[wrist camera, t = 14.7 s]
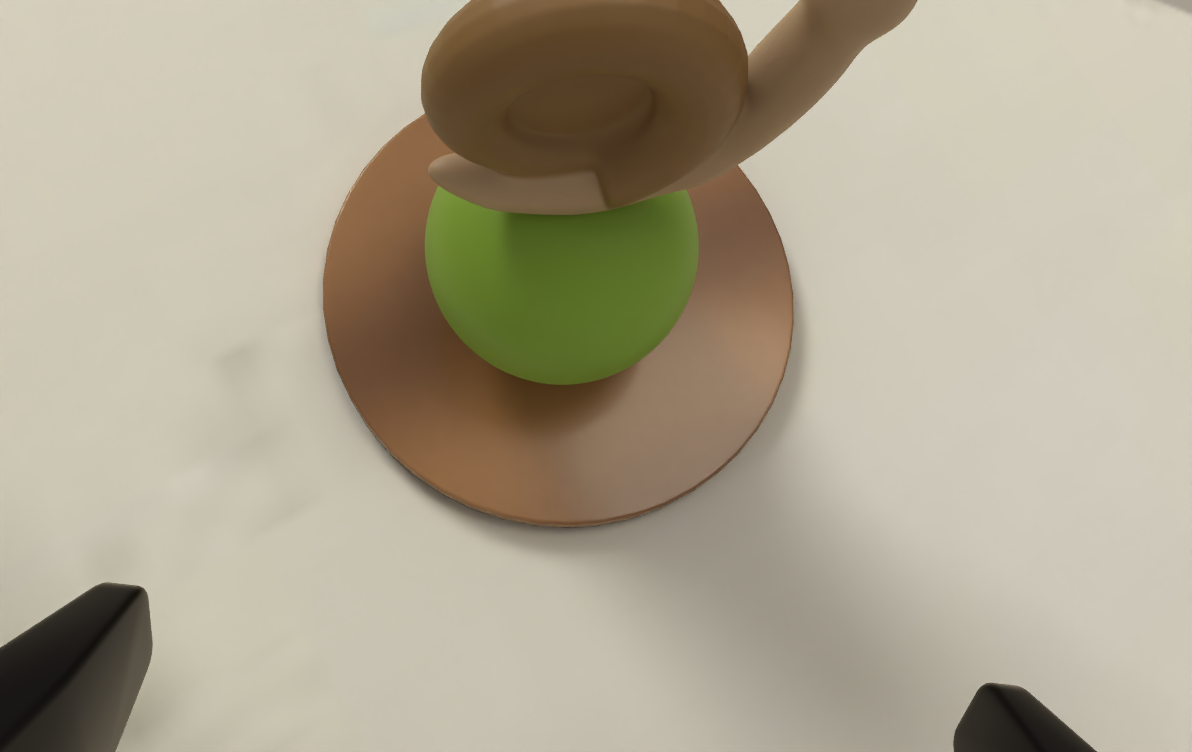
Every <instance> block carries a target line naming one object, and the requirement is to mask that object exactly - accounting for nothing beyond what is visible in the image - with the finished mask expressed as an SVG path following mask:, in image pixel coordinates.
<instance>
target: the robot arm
mask: <svg viewBox="0 0 1192 752" xmlns="http://www.w3.org/2000/svg"><path fill="white" fill-rule="evenodd" d="M152 646H153V645H152V632H151V621H150V611H149V600H148V595H147V592H146V591H145V589H144V588H142V587H140V586H135V585H126V584H117V583H102V584H99V585H96V586H95V587H93V588H91V589H90V590H88V591H87V592H85V593H84V594H82V595H81V596H79V597H77V598H76V599H74V600H73V601H71V602H70V603H68V604H67V605H65V606H64V607H62V608H61V609H59V610H57V611H56V612H54V613H53V614H51V615H50V616H48V617H47V618H45V619H44V620H42V621H41V622H39V623H37V624H36V625H34V626H33V627H31V628H30V629H28V630H27V631H25V632H24V633H22V634H21V635H19V636H18V637H16V638H14V639H13V640H11V641H10V642H8V643H7V644H5V645H4V646H2V647H1V648H0V752H115V751H116V749H117V746H118V744H119V741H120V739H121V736H122V734H123V731H124V728H125V726H126V723H127V721H128V718H129V716H130V713H131V710H132V708H133V705H134V703H135V700H136V698H137V695H138V693H139V690H140V687H141V685H142V682H143V680H144V677H145V675H146V672H147V669H148V667H149V663H150V660H151V655H152ZM953 745H954V752H1097V751H1096V750H1094V749H1093V748H1092V747H1091V746H1090V745H1089V744H1088V743H1086V742H1085V741H1084V740H1083V739H1082V738H1081V737H1080V736H1078V735H1077V734H1076V733H1075V732H1074V731H1073V730H1072V729H1070V728H1069V727H1068V726H1067V725H1066V724H1065V723H1064V722H1062V721H1061V720H1060V719H1059V718H1058V717H1057V716H1056V715H1054V714H1053V713H1052V712H1051V711H1050V710H1049V709H1048V708H1046V707H1045V706H1044V705H1043V704H1042V703H1041V702H1040V701H1038V700H1037V699H1036V698H1035V697H1034V696H1033V695H1032V694H1030V693H1029V692H1028V691H1027V690H1025V689H1023V688H1022V687H1019V686H1014V685H1005V684H997V683H986V684H984V685H983V686H981V687H980V688H979V689H978V691H977V692H976V694H975V696H974V698H973V700H972V701H971V703H970V705H969V707H968V708H967V710H966V712H965V714H964V715H963V717H962V719H961V721H960V722H959V724H958V726H957V728H956V730H955V735H954V742H953Z"/></svg>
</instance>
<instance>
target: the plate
mask: <svg viewBox="0 0 1192 752" xmlns="http://www.w3.org/2000/svg"><path fill="white" fill-rule="evenodd" d="M453 153H455V152H453V151H452V150H451V149H449V148H448V147H447V146H446V145H445V144H444V143H443V142H442V141H441V139H440V138H439V137H438V136H437V135H436V134H435V132H434V131H433V129H432V128H431V126H430V124H429V121H428V119H427V116H426V113H425V114H424V115H422V116H421V117H419V118H418V119H416V120H415V121H413V122H412V123H410V124H409V125H407V126H406V127H405V128H403V129H402V130H401V131H400V132H399V133H398V134H397V135H395V136H394V137H393V138H392V139H391V140H390V141H389V142H388V143H387V144H385V145H384V146H383V147H382V148H381V149H380V151H379V152H378V153H377V154H376V155H375V157H374V158H373V159H372V160H371V161H370V162H369V164H368V165H367V166H366V167H365V168H364V169H363V171H362V172H361V174H360V176H359V177H358V179H357V180H356V182H355V184H354V185H353V187H352V188H351V190H350V191H349V193H348V195H347V197H346V199H345V201H344V203H343V206H342V208H341V210H340V212H339V215H338V217H337V219H336V221H335V225H334V228H333V232H332V235H331V238H330V242H329V245H328V249H327V255H326V263H325V270H324V277H323V310H324V317H325V323H326V330H327V336H328V342H329V345H330V348H331V351H332V355H333V358H334V361H335V365H336V368H337V371H338V373H339V375H340V377H341V379H342V382H343V384H344V386H345V388H346V390H347V392H348V395H349V397H350V399H351V401H352V403H353V404H354V406H355V407H356V409H357V410H358V412H359V414H360V415H361V417H362V418H363V420H364V421H365V423H366V424H367V426H368V427H369V429H370V431H371V432H372V433H373V434H374V435H375V436H376V437H377V439H378V440H379V441H380V442H381V443H382V444H383V446H384V447H385V448H386V449H387V450H388V451H389V453H390V454H391V455H392V456H393V457H395V458H396V459H397V460H398V461H399V462H400V463H401V464H402V465H404V466H405V467H406V468H407V469H408V470H409V471H410V472H412V473H413V474H414V475H415V476H416V477H418V478H419V479H421V480H422V481H424V482H425V483H427V484H428V485H430V486H431V487H433V488H434V489H436V490H437V491H439V492H440V493H442V494H443V495H445V496H447V497H449V498H451V499H453V500H455V501H457V502H459V503H462V504H464V505H466V506H468V507H470V508H472V509H474V510H477V511H480V512H483V513H486V514H489V515H492V516H495V517H498V518H501V519H505V520H510V521H515V522H520V523H525V524H530V525H536V526H552V527H581V526H594V525H603V524H607V523H612V522H617V521H622V520H626V519H631V518H634V517H637V516H639V515H642V514H645V513H648V512H651V511H653V510H656V509H659V508H661V507H663V506H665V505H667V504H669V503H671V502H673V501H675V500H677V499H679V498H680V497H682V496H684V495H686V494H688V493H690V492H692V491H693V490H695V489H696V488H698V487H699V486H700V485H702V484H703V483H705V482H706V481H707V480H709V479H710V478H712V477H713V476H714V475H716V474H717V473H718V472H719V471H720V470H721V469H723V468H724V467H725V466H726V465H727V464H728V463H729V462H730V461H731V460H732V459H733V458H734V457H735V456H736V455H737V454H738V453H739V452H740V451H741V450H742V449H743V447H744V446H745V445H746V443H747V442H748V441H749V440H750V438H751V437H752V436H753V435H754V433H755V432H756V431H757V430H758V428H759V426H760V425H761V423H762V421H763V419H764V418H765V416H766V414H767V413H768V411H769V409H770V408H771V406H772V404H773V401H774V399H775V397H776V394H777V392H778V389H779V387H780V384H781V382H782V380H783V377H784V373H785V369H786V365H787V361H788V357H789V353H790V348H791V340H792V331H793V323H794V322H793V291H792V284H791V278H790V271H789V265H788V262H787V258H786V255H785V251H784V248H783V244H782V241H781V238H780V236H779V233H778V231H777V229H776V226H775V224H774V222H773V219H772V217H771V215H770V213H769V211H768V209H767V207H766V206H765V204H764V202H763V201H762V199H761V197H760V195H759V194H758V192H757V190H756V189H755V187H754V186H753V185H752V183H751V182H750V181H749V179H748V178H747V177H746V175H745V174H744V173H743V172H742V170H741V169H740V168H739V166H738V165H737V166H735V167H734V168H732V169H731V170H729V171H728V172H726V173H725V174H723V175H721V176H719V177H717V178H715V179H713V180H711V181H709V182H706V183H704V184H702V185H699V186H696V187H693V188H690V189H686V190H687V192H688V194H689V197H690V200H691V202H692V206H693V209H694V213H695V217H696V222H697V228H698V237H699V256H698V266H697V272H696V277H695V282H694V285H693V289H692V292H691V294H690V297H689V300H688V302H687V304H686V306H685V309H684V311H683V312H682V314H681V316H680V318H679V319H678V321H677V323H676V324H675V326H674V327H673V329H672V330H671V331H670V332H669V334H668V335H667V336H666V337H665V338H664V340H663V341H662V342H661V343H660V344H659V345H658V346H657V347H656V348H655V349H654V350H653V351H651V352H650V353H649V354H648V355H647V356H645V357H644V358H643V359H641V360H640V361H638V362H637V363H635V364H634V365H632V366H630V367H629V368H627V369H625V370H623V371H621V372H619V373H616V374H614V375H612V376H609V377H606V378H603V379H600V380H596V381H592V382H587V383H581V384H570V385H555V384H545V383H538V382H533V381H529V380H526V379H522V378H519V377H516V376H514V375H511V374H509V373H506V372H504V371H502V370H500V369H498V368H496V367H495V366H493V365H491V364H490V363H488V362H487V361H485V360H484V359H482V358H481V357H480V356H478V355H477V354H476V353H475V352H473V351H472V350H471V349H470V348H469V347H468V346H467V345H466V344H465V343H464V342H463V341H462V340H461V339H460V338H459V337H458V335H457V334H456V333H455V332H454V330H453V329H452V328H451V326H450V325H449V323H448V322H447V320H446V319H445V317H444V315H443V314H442V312H441V310H440V308H439V306H438V304H437V302H436V299H435V297H434V294H433V291H432V288H431V285H430V281H429V278H428V273H427V267H426V260H425V231H426V224H427V218H428V214H429V210H430V206H431V203H432V200H433V197H434V194H435V192H436V190H437V187H438V185H437V184H436V183H435V182H434V181H433V180H432V179H431V178H430V176H429V173H428V168H429V165H430V164H431V163H432V162H433V161H434V160H436V159H437V158H439V157H442V156H445V155H448V154H453Z"/></svg>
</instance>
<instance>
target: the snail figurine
mask: <svg viewBox="0 0 1192 752" xmlns="http://www.w3.org/2000/svg"><path fill="white" fill-rule="evenodd" d="M916 2H917V0H800V1H799V2H798V3H797V4H796V5H795V6H794V7H793V8H792V9H791V10H790V12H789V13H788V14H787V15H786V16H785V17H784V18H783V19H782V20H781V21H780V22H779V23H778V24H777V25H776V26H775V27H774V28H773V29H772V30H771V31H770V32H769V33H768V34H767V35H766V37H765V38H764V39H763V40H762V41H761V42H760V43H759V44H758V45H757V46H756V47H755V49H754V50H753V51H752V52H751V53H750V54H749V56H748V55H747V50H746V47H745V44H744V41H743V38H742V35H741V32H740V30H739V28H738V27H737V25H736V23H735V21H734V19H733V18H732V16H731V15H730V14H729V13H728V11H727V10H726V9H725V7H724V6H723V5H722V3H721V2H720V1H719V0H471V1H470V2H468V3H467V4H466V5H465V6H464V7H463V8H462V9H461V10H460V11H458V12H457V13H456V14H455V15H454V16H453V17H452V18H451V19H450V20H449V21H448V22H447V24H446V25H445V26H444V28H443V29H442V30H441V32H440V33H439V35H438V36H437V38H436V39H435V40H434V42H433V44H432V45H431V47H430V49H429V52H428V55H427V57H426V60H425V63H424V66H423V70H422V78H421V100H422V104H423V108H424V111H425V113H426V116H427V119H428V121H429V124H430V126H431V128H432V129H433V131H434V132H435V134H436V135H437V136H438V137H439V138H440V139H441V141H442V142H443V143H444V144H445V145H446V146H447V147H448V148H449V149H451V150H452V151H453V152H455V153H453V154H448V155H445V156H442V157H439V158H437V159H436V160H434V161H433V162H432V163H431V164H430V165H429V168H428V173H429V176H430V178H431V179H432V180H433V181H434V182H435V183H436V184H437V185H438V187H437V190H436V192H435V194H434V197H433V200H432V203H431V206H430V210H429V214H428V218H427V224H426V231H425V260H426V267H427V273H428V278H429V281H430V285H431V288H432V291H433V294H434V297H435V299H436V302H437V304H438V306H439V308H440V310H441V312H442V314H443V315H444V317H445V319H446V320H447V322H448V323H449V325H450V326H451V328H452V329H453V330H454V332H455V333H456V334H457V335H458V337H459V338H460V339H461V340H462V341H463V342H464V343H465V344H466V345H467V346H468V347H469V348H470V349H471V350H472V351H473V352H475V353H476V354H477V355H478V356H480V357H481V358H482V359H484V360H485V361H487V362H488V363H490V364H491V365H493V366H495V367H496V368H498V369H500V370H502V371H504V372H506V373H509V374H511V375H514V376H516V377H519V378H522V379H526V380H529V381H533V382H538V383H545V384H555V385H570V384H581V383H587V382H592V381H596V380H600V379H603V378H606V377H609V376H612V375H614V374H616V373H619V372H621V371H623V370H625V369H627V368H629V367H630V366H632V365H634V364H635V363H637V362H638V361H640V360H641V359H643V358H644V357H645V356H647V355H648V354H649V353H650V352H651V351H653V350H654V349H655V348H656V347H657V346H658V345H659V344H660V343H661V342H662V341H663V340H664V338H665V337H666V336H667V335H668V334H669V332H670V331H671V330H672V329H673V327H674V326H675V324H676V323H677V321H678V319H679V318H680V316H681V314H682V312H683V311H684V309H685V306H686V304H687V302H688V300H689V297H690V294H691V292H692V289H693V285H694V282H695V277H696V272H697V266H698V256H699V237H698V228H697V222H696V217H695V213H694V209H693V206H692V202H691V200H690V197H689V194H688V192H687V190H686V189H690V188H693V187H696V186H699V185H702V184H704V183H706V182H709V181H711V180H713V179H715V178H717V177H719V176H721V175H723V174H725V173H726V172H728V171H729V170H731V169H732V168H734V167H735V166H737V165H738V164H740V163H741V162H743V161H744V160H746V159H747V158H749V157H750V156H752V155H753V154H755V153H757V152H758V151H759V150H761V149H762V148H764V147H765V146H766V145H768V144H769V143H770V142H771V141H773V140H774V139H775V138H776V137H778V136H779V135H780V134H781V133H783V132H784V131H785V130H787V129H788V128H789V127H790V126H792V125H793V124H794V123H795V122H796V121H797V120H798V119H800V118H801V117H802V116H803V115H804V114H805V113H806V112H807V111H808V110H809V109H810V108H811V107H813V106H814V105H815V104H816V103H817V102H818V101H819V100H820V99H821V98H822V97H823V96H824V95H825V94H826V93H827V92H828V90H829V89H830V88H831V87H832V86H833V85H834V84H835V83H836V82H837V80H838V79H839V78H840V77H841V76H842V74H843V73H844V72H845V71H846V69H847V68H848V67H849V65H850V64H851V63H852V61H853V60H854V59H855V57H856V56H857V55H858V54H859V53H860V52H861V50H862V49H863V48H864V47H866V46H867V45H868V44H869V43H871V42H872V41H874V40H875V39H877V38H879V37H881V36H882V35H884V34H886V33H887V32H889V31H891V30H892V29H894V28H895V27H896V26H898V25H899V24H900V23H901V22H902V21H903V20H904V19H905V18H906V17H907V16H908V15H909V13H910V12H911V10H912V9H913V7H914V6H915V4H916Z"/></svg>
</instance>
